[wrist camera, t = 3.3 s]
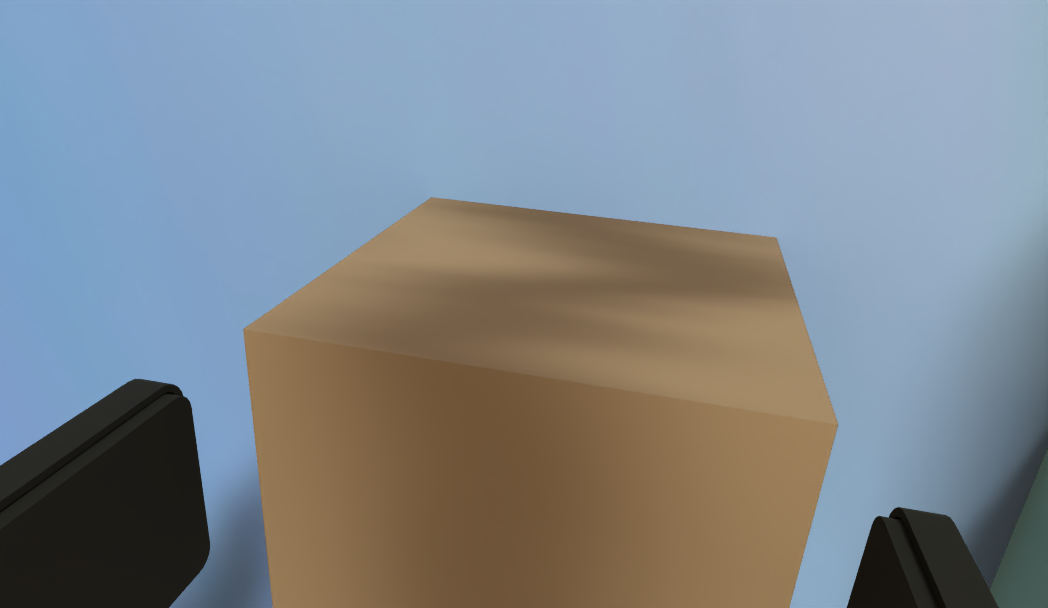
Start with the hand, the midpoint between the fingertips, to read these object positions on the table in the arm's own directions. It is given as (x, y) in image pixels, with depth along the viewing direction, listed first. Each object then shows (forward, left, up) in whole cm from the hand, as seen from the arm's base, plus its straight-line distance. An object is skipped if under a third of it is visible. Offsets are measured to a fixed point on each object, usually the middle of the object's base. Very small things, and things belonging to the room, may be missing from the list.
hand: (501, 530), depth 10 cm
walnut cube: (0, 0, -5) cm, 5 cm away
